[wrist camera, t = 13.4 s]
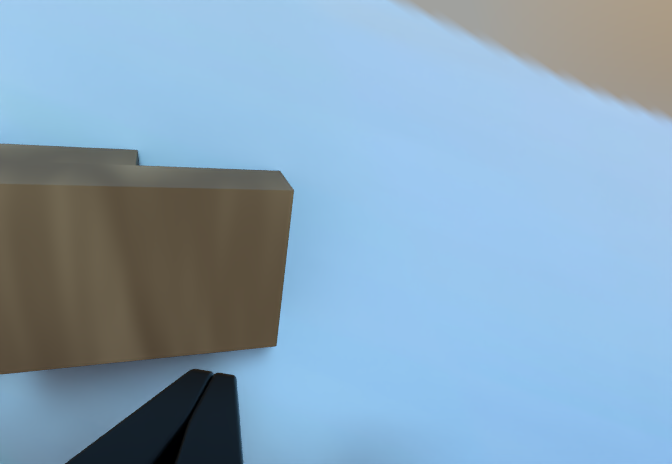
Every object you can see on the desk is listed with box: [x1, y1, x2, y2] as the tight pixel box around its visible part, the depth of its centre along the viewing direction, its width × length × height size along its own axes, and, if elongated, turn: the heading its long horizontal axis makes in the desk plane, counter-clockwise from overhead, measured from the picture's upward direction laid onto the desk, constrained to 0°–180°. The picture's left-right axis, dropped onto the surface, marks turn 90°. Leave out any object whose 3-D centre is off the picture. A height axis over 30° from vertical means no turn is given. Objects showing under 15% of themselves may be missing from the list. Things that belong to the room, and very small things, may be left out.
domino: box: [0, 160, 294, 374], centre depth 12 cm, size 2×5×8 cm
